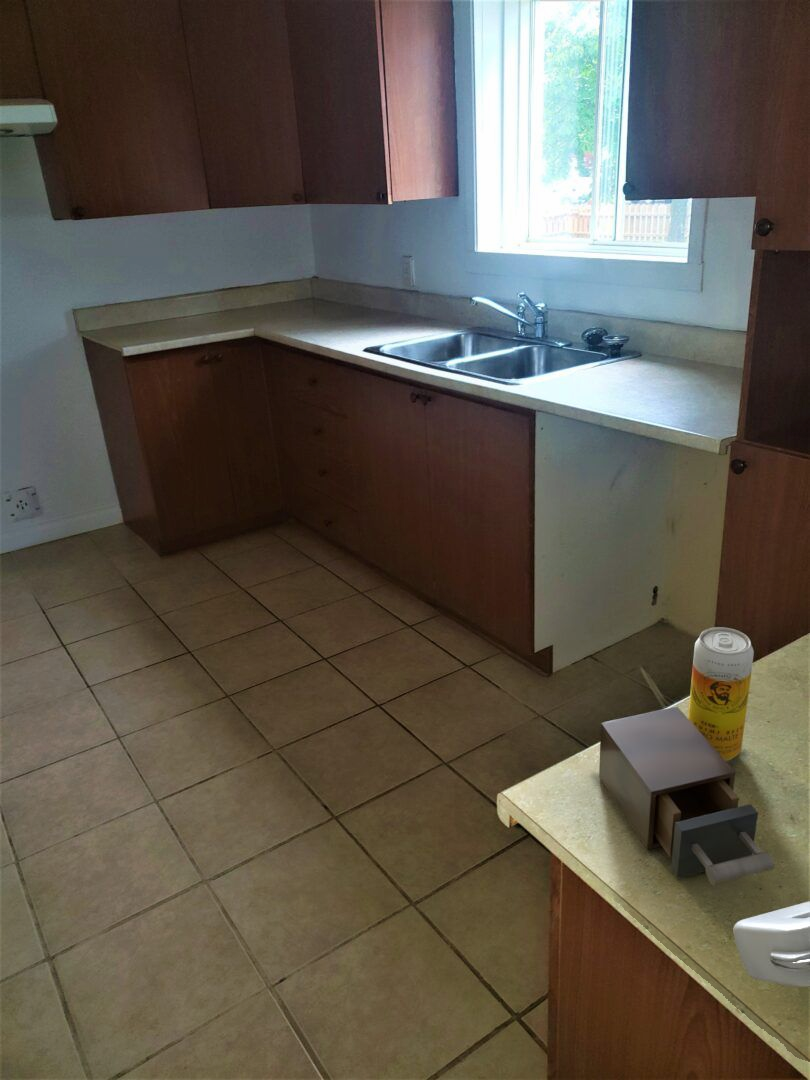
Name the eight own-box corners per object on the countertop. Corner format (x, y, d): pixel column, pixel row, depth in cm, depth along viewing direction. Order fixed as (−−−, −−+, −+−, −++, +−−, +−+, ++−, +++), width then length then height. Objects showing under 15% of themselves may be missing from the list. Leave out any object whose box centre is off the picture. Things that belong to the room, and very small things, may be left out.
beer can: (687, 762, 94) (697, 653, 87) (684, 729, 99) (693, 623, 93) (743, 768, 92) (758, 657, 86) (737, 733, 98) (750, 627, 91)
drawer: (779, 894, 76) (787, 845, 73) (701, 915, 75) (707, 866, 72) (694, 788, 89) (699, 744, 86) (627, 804, 88) (629, 760, 85)
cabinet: (728, 829, 84) (735, 771, 81) (647, 850, 83) (651, 792, 80) (672, 760, 94) (677, 706, 91) (598, 777, 93) (600, 722, 89)
